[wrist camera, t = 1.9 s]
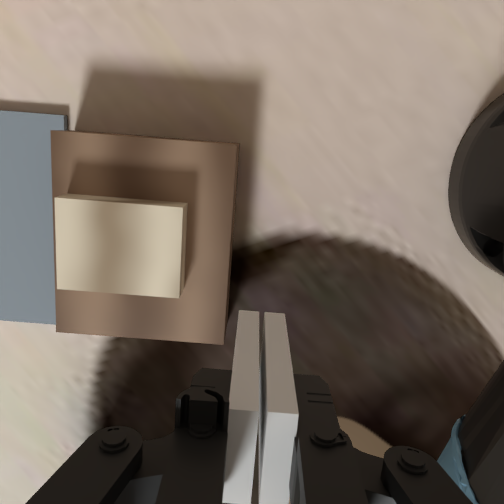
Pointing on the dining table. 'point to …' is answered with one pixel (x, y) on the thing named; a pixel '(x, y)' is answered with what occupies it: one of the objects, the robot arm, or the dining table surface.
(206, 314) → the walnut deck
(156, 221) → the birch tile
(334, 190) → the dining table surface
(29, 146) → the rubber mat
